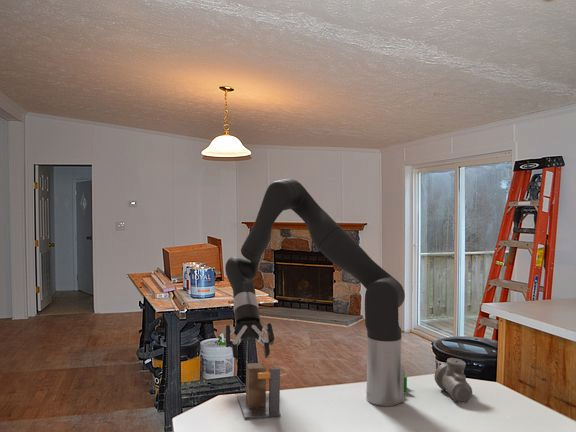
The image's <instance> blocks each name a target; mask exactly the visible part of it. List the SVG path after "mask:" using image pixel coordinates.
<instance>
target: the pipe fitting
mask: <svg viewBox="0 0 576 432" xmlns="http://www.w3.org/2000/svg"><path fill="white" fill-rule="evenodd" d="M466 364H467V363H466V362H465V361H464V360H462V359H459V358H455V357H449V358H447V360H446V362H444V363H442V364H440V365H439V366H437V368H436V370H435V371H434V376H433V377H434V378H433V379H434V381H435V383H436V385H437V386H438V387H439V388H440V389H441V390H442V389H443V390H442V391H445V390H447V391H446V392H447V393H448V394H449V396H450V397H451V398H452V400H453V401H454V402H456V403H458V402H464V403H467V402H469V400H471V398H472V396H473V389H472V386H471V385H470V384H469V383H468V382H467V378H466V374H465V368H466Z"/></svg>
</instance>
